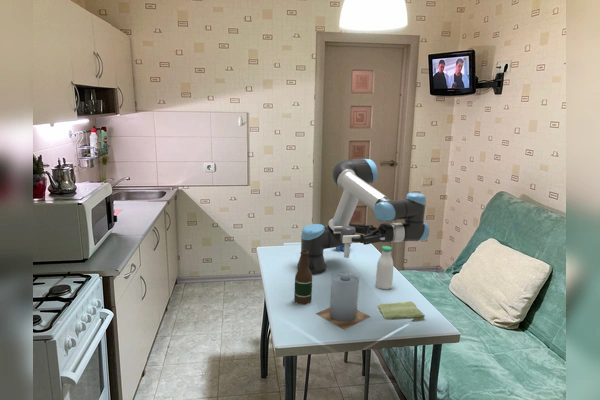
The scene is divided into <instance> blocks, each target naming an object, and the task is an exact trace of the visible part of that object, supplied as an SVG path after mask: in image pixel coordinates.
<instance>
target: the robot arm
mask: <svg viewBox="0 0 600 400" xmlns="http://www.w3.org/2000/svg"><path fill="white" fill-rule="evenodd" d="M378 172H379V171H378V168H377V164H376V163H375V162H374V161H373V160H372V159H369V158H362V159H361V158H359V159H358V158H357V159H343V160H340V161H338V162H337V163H335V164H334V165H333V167H332V170H331V179H332V182H333V183H334V184H335V186H337V187H338V188H339V189H342V190H343V192H342V195H341V197H340V200H339V203H338V206H337V208H336V211H335V213H334V215H333V218H331V219H330V220H329V221H328V223H327V225H325V226H324V225H323V224H320V223H310V224H308V225H305V226H303V228H302V229H301V235H300V237H301V238H300V239H301V242H300V243H301V244H300V252H301V251H302V250H307V251H309V254H308V265H309V269H310V271H311V273H312V275H321V274H323V273H326V270H327V264H326V261H325V260H326V259H325V257H324V250H326V249H334V248H335V249H336V247H342V246H345V243H351V244H353V243H360V244H363V245H371V244H377V243H381V242H382V243H392V242H393V243H395V244H396V243H397V244H398V243H399V242H419V241H421V242H422V241H425V240H427V239H428V238H429V237H430V227H429V225H428V223H427V222H425V221H424V220H425V213H426V212H425V211H426V206H427V205H426V203H427V201H426V199H427V198H426V195H424V194H423V193H419V192H418V193H417V192H409V193H407V194H406V197H405V199H399V200H398V199H396V200H392V199H391V198H389V196H387V195H385V194H384V193H382V192H381V191H379V190H378V189H376V188H374V186H372V184H373V183H376V181H377V180H378V176H379V175H378V174H379V173H378ZM359 201H361V203H364V205H366V206H367V207H369V208H370V209H371V210H372V211H373V215H374V216H375V218H376V220H377V221H379V222H384V223H381V224H379V226H378V227H376V226H374V225H372V224H370V225H368V224H367V225H366V224H355V223H354V224H353V223H352V224H351V223H350V222H351V221H352V217H353V215H354V212H355V211H356V209H357V206H358V203H359ZM400 220H404V222H392V221H400ZM385 222H390V223H385ZM343 226H352V227H355V235H350V236H343V241H341V240H340V238H341V232H335V231H334V228H341V227H343ZM300 260H301V255H300V257H299V259H298V261H297V266H296V268H297V270H298V269H299V268H300Z"/></svg>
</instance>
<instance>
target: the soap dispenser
mask: <svg viewBox="0 0 600 400" xmlns="http://www.w3.org/2000/svg"><path fill="white" fill-rule="evenodd" d="M330 278H331V281H330V282H331V284H330V299H329V307H330V317H331V318H333V319H334V320H337V321H341V322H349V321H353V320H355V319H356V316H357V310H358V301H359V299H358V297H359V287H360V286H359V284H360V279H359V277H358V276H357V275H354V274H351V273H350V272H348V271H347V272H346V271H345V272H344V271H343V272H340V273H335V274H333V275H331V277H330Z"/></svg>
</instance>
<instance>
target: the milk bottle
mask: <svg viewBox="0 0 600 400" xmlns="http://www.w3.org/2000/svg"><path fill="white" fill-rule="evenodd" d="M392 250H393V248H392V247H391V246H388V245H382V246H381V254H380V257H379V258H378V260H377V265H376V276H375V286H376V287H377V289H381V290H390V289H392V287H393V278H394V260H393V257H392Z"/></svg>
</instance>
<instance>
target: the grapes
mask: <svg viewBox="0 0 600 400" xmlns="http://www.w3.org/2000/svg"><path fill="white" fill-rule="evenodd" d="M351 244H352V243H350V247H351ZM344 249H345V246H342V247H335V251H341V252H344Z"/></svg>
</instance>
